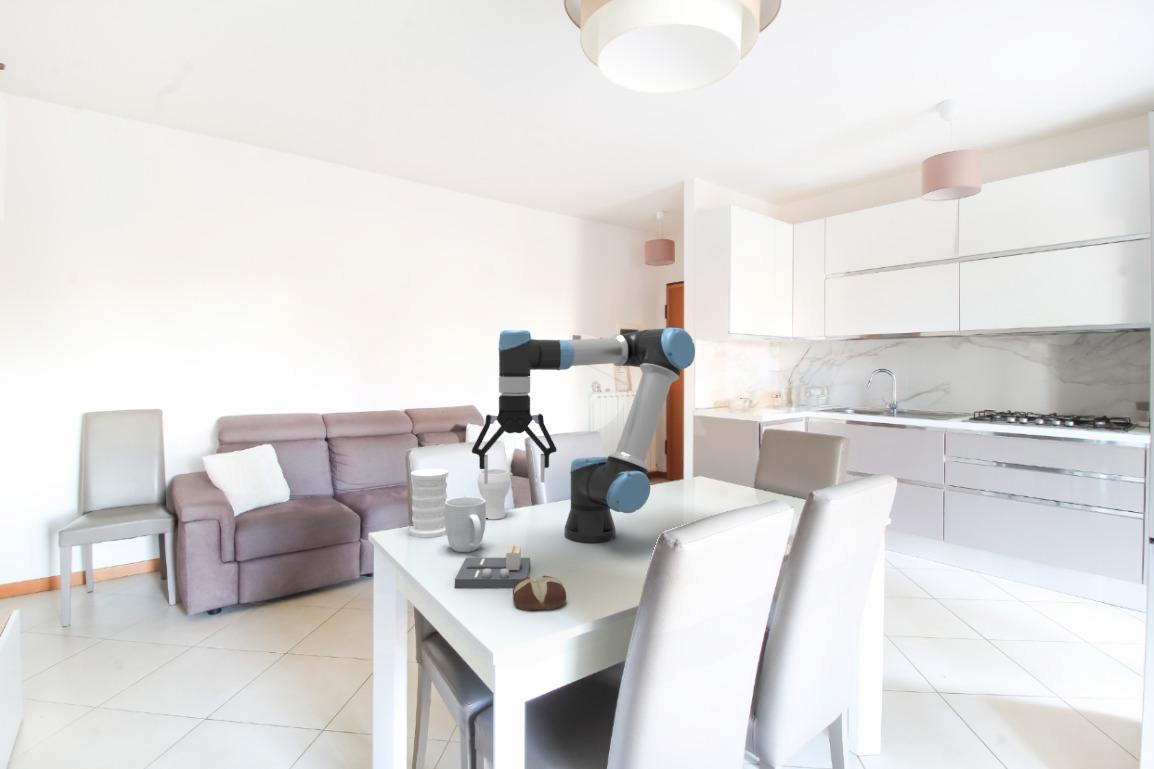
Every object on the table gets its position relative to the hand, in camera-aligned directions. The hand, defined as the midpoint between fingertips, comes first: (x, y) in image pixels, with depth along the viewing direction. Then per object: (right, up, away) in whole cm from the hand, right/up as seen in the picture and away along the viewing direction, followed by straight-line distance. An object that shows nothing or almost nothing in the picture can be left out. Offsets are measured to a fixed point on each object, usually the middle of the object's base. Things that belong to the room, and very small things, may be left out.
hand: (514, 482), depth 134 cm
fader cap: (0, -20, -3) cm, 20 cm away
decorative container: (-29, -21, +32) cm, 48 cm away
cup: (-12, -20, +49) cm, 54 cm away
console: (-4, -22, -3) cm, 22 cm away
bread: (+7, -23, -16) cm, 29 cm away
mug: (-15, -21, +16) cm, 31 cm away
